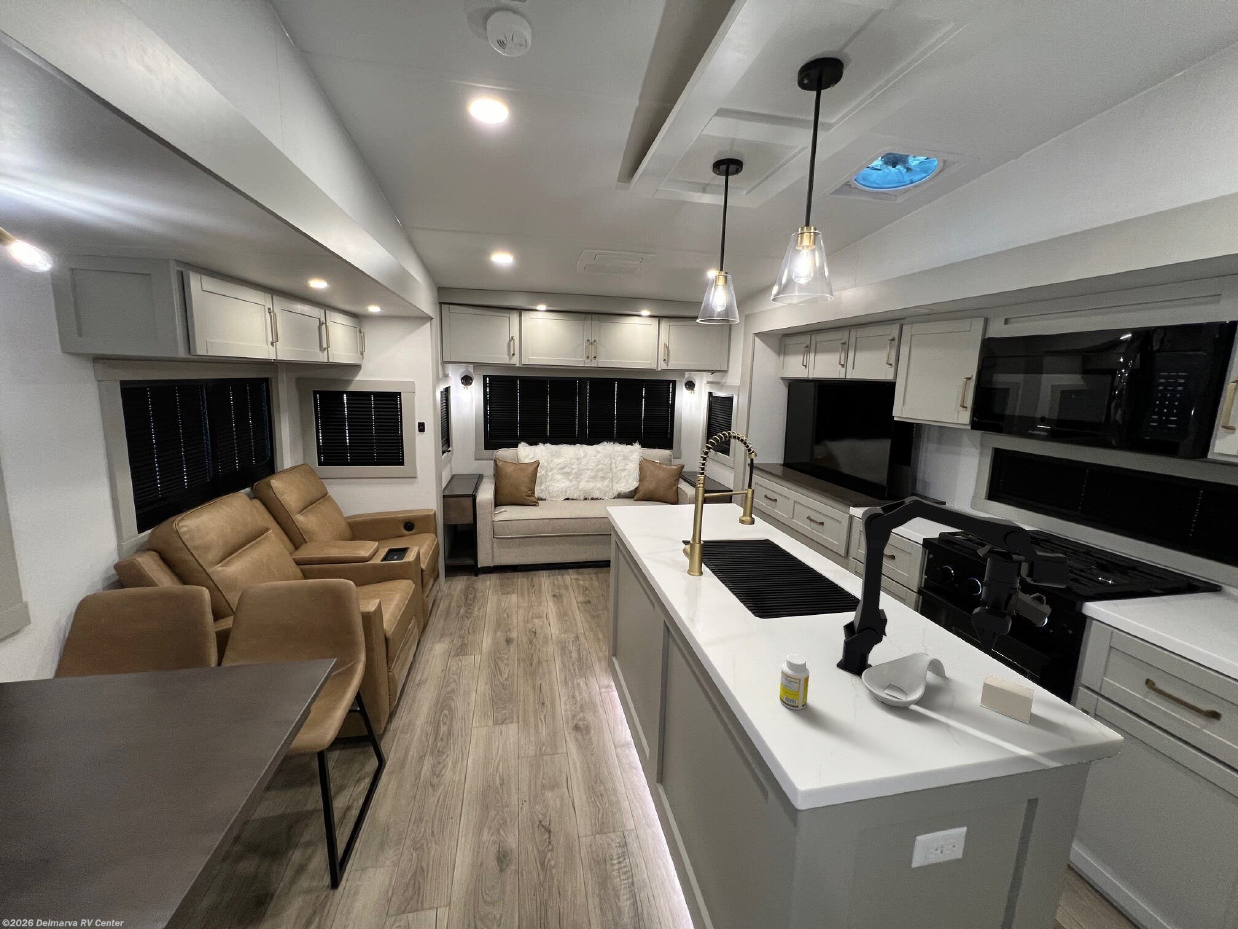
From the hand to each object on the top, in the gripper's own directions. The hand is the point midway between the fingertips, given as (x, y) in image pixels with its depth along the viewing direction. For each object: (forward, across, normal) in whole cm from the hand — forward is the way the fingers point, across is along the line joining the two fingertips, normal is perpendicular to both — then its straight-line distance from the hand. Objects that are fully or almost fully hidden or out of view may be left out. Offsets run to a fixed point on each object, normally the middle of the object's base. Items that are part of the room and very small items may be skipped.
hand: (990, 645), depth 106 cm
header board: (+12, -1, -4) cm, 12 cm away
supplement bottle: (+12, -35, +28) cm, 46 cm away
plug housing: (+10, -5, -4) cm, 12 cm away
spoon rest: (+12, -11, +12) cm, 21 cm away
